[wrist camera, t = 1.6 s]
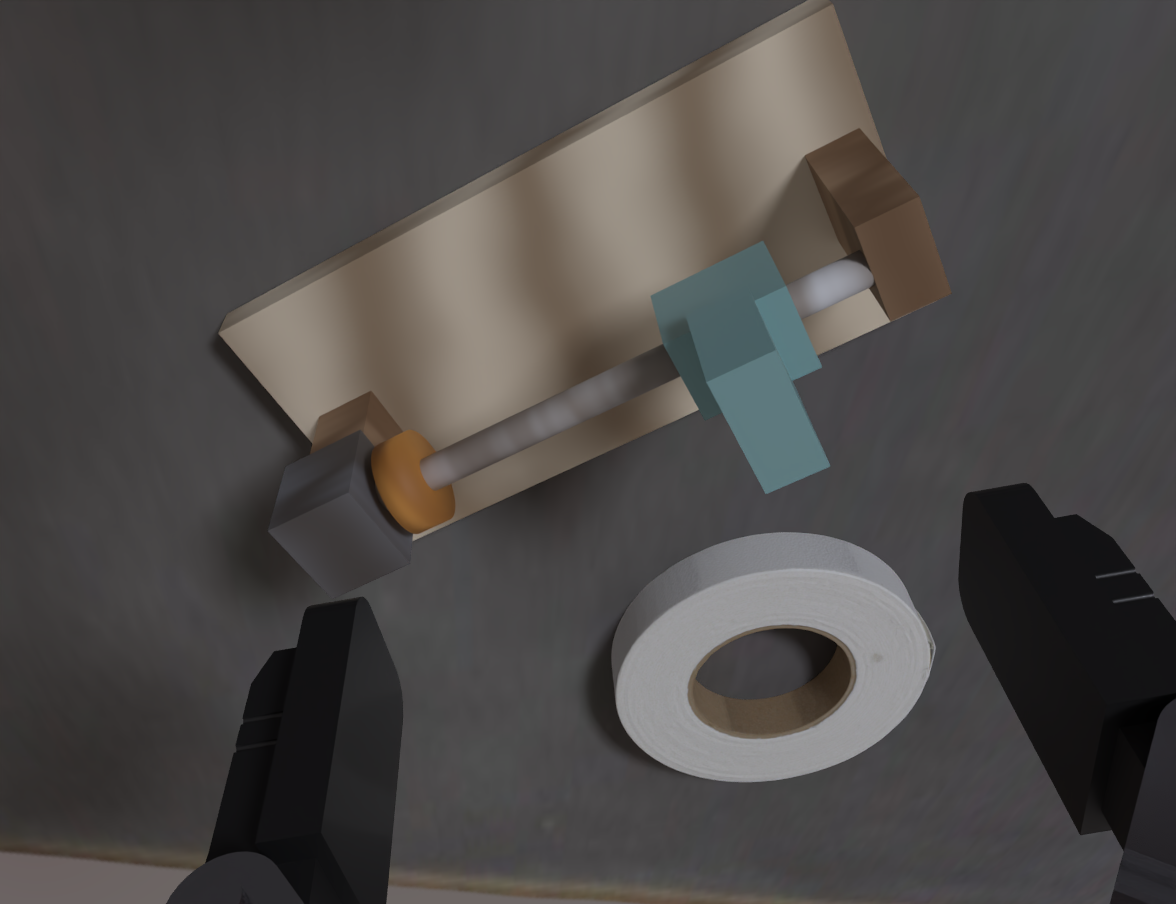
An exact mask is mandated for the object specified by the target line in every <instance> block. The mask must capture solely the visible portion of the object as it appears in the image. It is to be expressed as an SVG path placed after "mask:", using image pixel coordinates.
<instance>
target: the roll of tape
mask: <svg viewBox="0 0 1176 904" xmlns="http://www.w3.org/2000/svg"><path fill="white" fill-rule="evenodd" d="M777 628H796V629H803V630H809V631H812V632H815V633H818V634H821V635H823V636H825V637H827V638H829V639H831V640H833V641H834V642H835V643H836V644H837V648H836V651H835V654H834V656H833V657H832V659H831V661H830V662H829V664H828V665H827V666H826V667H825V669H824V670H823V671H822V672H821V673H820V674H819V675H817V676H816V677H815V678H814V679H812V680H811V681H810V682H808V683H807V684H805V685H803V686H802V687H800V688H798V689H796V690H794V691H791V692H789V693H786V694H783V695H779V696H775V697H771V698H765V699H756V700H741V699H733V698H729V697H724V696H721V695H718V694H716V693H713V692H711V691H709V690H707V689H706V688H704V687H703V686H702V685H701V684H700V683H699V682H697V681H696V680H695V678H696V675H697V672H698V670H699V669H700V668H701V666H702V665H703V664H704V662H705V661H706V660H707V659H708V658H709V657H710V655H712V654H713V653H714V652H715V651H717V650H718V649H719V648H721V647H722V646H724V645H726V644H728V643H729V642H731V641H733V640H735V639H738V638H740V637H742V636H745V635H748V634H751V633H754V632H758V631H763V630H769V629H777ZM934 654H935V644H934V641H933V638H932V636H931V633H930V631H929V629H928V627H927V626H926V624H925V622H924V621H923V619H922V617H921V616H920V614H919V613H918V611H917V610H915V608H914V605H913V603H912V601H911V599H910V597H909V594H908V592H907V590H906V588H905V586H904V584H903V583H902V581H901V580H900V578H899V577H898V576H897V574H896V573H895V572H894V571H893V570H892V569H891V568H890V567H889V566H888V565H887V564H885V563H884V562H883V561H882V560H881V559H879V558H878V557H876V556H875V555H873V554H872V553H870V552H868V551H866V550H865V549H863V548H861V547H858V546H856V545H854V544H851V543H849V542H846V541H843V540H839V539H836V538H832V537H828V536H823V535H816V534H808V533H794V532H780V533H767V534H759V535H752V536H746V537H742V538H737V539H733V540H730V541H726V542H723V543H720V544H717V545H714V546H712V547H709V548H707V549H705V550H702V551H700V552H698V553H695V554H693V555H691V556H689V557H687V558H685V559H683V560H682V561H680V562H678V563H676V564H675V565H673V566H672V567H670V568H669V569H667V570H666V571H664V572H663V573H662V574H660V575H659V576H658V577H656V578H655V579H654V580H652V581H651V582H650V583H649V584H648V585H647V586H646V587H645V588H644V589H643V590H642V591H641V592H640V593H639V594H638V595H637V596H636V598H635V599H634V600H633V601H632V602H631V604H630V605H629V607H628V608H627V610H626V611H625V613H624V615H623V617H622V618H621V620H620V622H619V625H618V627H617V630H616V632H615V636H614V639H613V644H612V652H611V664H612V673H613V683H614V692H615V701H616V708H617V712H618V715H619V718H620V721H621V723H622V725H623V727H624V729H625V730H626V732H627V733H628V735H629V736H630V737H631V738H632V740H633V741H634V742H635V743H636V744H637V745H638V746H639V747H640V748H641V749H642V750H643V751H644V752H645V753H647V754H648V755H649V756H651V757H652V758H654V759H655V760H657V761H659V762H661V763H662V764H664V765H666V766H668V767H670V768H673V769H675V770H677V771H680V772H683V773H686V774H690V775H693V776H697V777H702V778H707V779H713V780H720V781H729V782H761V781H771V780H780V779H785V778H791V777H795V776H800V775H804V774H808V773H812V772H815V771H819V770H822V769H825V768H828V767H831V766H833V765H836V764H838V763H841V762H843V761H845V760H847V759H850V758H852V757H853V756H855V755H857V754H859V753H861V752H863V751H864V750H866V749H867V748H869V747H871V746H872V745H874V744H875V743H877V742H878V741H879V740H881V739H882V738H883V737H884V736H885V735H887V734H888V733H889V732H890V731H891V730H892V729H893V728H894V727H896V726H897V725H898V724H899V723H900V722H901V721H902V720H903V719H904V718H905V717H906V716H907V714H908V713H909V712H910V710H911V709H912V707H913V706H914V704H915V703H916V701H917V700H918V698H919V697H920V695H921V693H922V690H923V688H924V686H925V683H926V681H927V679H928V677H929V674H930V670H931V666H932V662H933V658H934Z"/></svg>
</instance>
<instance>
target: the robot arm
mask: <svg viewBox="0 0 1176 904" xmlns="http://www.w3.org/2000/svg"><path fill="white" fill-rule="evenodd" d="M958 580H959V591H960V597H961V601H962V605H963V609H964V612H965V615H966V617H967V620H968V622H969V624H970V626H971V628H972V630H973V632H974V634H975V636H976V638H977V640H978V641H979V643H980V645H981V647H982V649H983V651H984V653H985V655H986V657H987V659H988V661H989V662H990V664H991V666H992V668H993V670H994V672H995V674H996V676H997V678H998V680H999V681H1000V683H1001V685H1002V687H1003V689H1004V691H1005V693H1006V695H1007V697H1008V699H1009V700H1010V702H1011V704H1012V706H1013V708H1014V710H1015V712H1016V714H1017V716H1018V718H1019V720H1020V721H1021V723H1022V725H1023V727H1024V729H1025V731H1026V733H1027V735H1028V737H1029V739H1030V740H1031V742H1032V744H1033V746H1034V748H1035V750H1036V752H1037V754H1038V756H1039V758H1040V760H1041V761H1042V763H1043V765H1044V767H1045V769H1046V771H1047V773H1048V775H1049V777H1050V779H1051V780H1052V782H1053V784H1054V786H1055V788H1056V790H1057V792H1058V794H1059V796H1060V798H1061V800H1062V801H1063V803H1064V805H1065V807H1066V809H1067V811H1068V813H1069V815H1070V817H1071V819H1072V820H1073V822H1074V824H1075V826H1076V828H1077V830H1078V832H1079V834H1080V835H1084V834H1090V833H1097V832H1103V831H1109V830H1112V831H1113V833H1114V835H1115V836H1116V838H1117V840H1118V842H1119V844H1120V845H1121V847H1122V849H1123V851H1124V853H1123V856H1122V860H1121V863H1120V867H1119V871H1118V875H1117V878H1116V882H1115V886H1114V890H1113V894H1112V898H1111V901H1110V904H1176V621H1175V620H1174V618H1173V617H1172V616H1171V614H1170V613H1169V612H1168V611H1167V609H1166V608H1165V607H1164V605H1163V604H1162V603H1161V601H1160V600H1159V599H1158V598H1155V597H1154V595H1153V591H1152V589H1151V588H1150V587H1149V585H1148V584H1147V583H1146V581H1145V580H1144V579H1143V577H1142V576H1141V575H1140V573H1139V574H1137V573H1136V572H1135V567H1134V565H1133V564H1132V563H1131V562H1130V560H1129V559H1128V558H1127V556H1126V555H1125V554H1124V552H1123V551H1122V550H1121V548H1120V547H1119V546H1118V544H1117V543H1116V542H1115V540H1114V539H1113V538H1112V537H1111V536H1109V535H1108V534H1106V533H1105V532H1103V531H1101V530H1100V529H1098V528H1097V527H1095V526H1094V525H1092V524H1091V523H1089V522H1088V521H1086V520H1085V519H1083V518H1081V517H1080V516H1078V515H1077V514H1075V515H1069V516H1064V517H1058V518H1054V517H1053V515H1052V514H1051V513H1050V511H1049V510H1048V508H1047V507H1046V506H1045V504H1044V503H1043V501H1042V500H1041V498H1040V497H1039V496H1038V494H1037V493H1036V491H1035V490H1034V489H1033V488H1032V487H1031V486H1030V485H1029V484H1027V483H1021V484H1015V485H1009V486H1003V487H998V488H992V489H986V490H981V491H975V492H969V493H967V494H966V496H965V498H964V502H963V514H962V529H961V545H960V560H959V577H958ZM402 725H403V699H402V691H401V686H400V681H399V677H398V674H397V671H396V668H395V666H394V663H393V661H392V658H391V656H390V653H389V651H388V649H387V646H386V644H385V641H384V639H383V636H382V634H381V631H380V629H379V626H378V624H377V621H376V619H375V616H374V614H373V612H372V609H371V607H370V605H369V603H368V601H367V600H366V599H365V598H364V597H358V598H352V599H346V600H341V601H335V602H329V603H323V604H318V605H312V606H309V607H307V609H306V610H305V612H304V616H303V620H302V625H301V629H300V634H299V639H298V644H297V648H291V649H285V650H279V651H274V652H273V654H272V655H271V656H270V658H269V659H268V661H267V662H266V664H265V665H264V666H263V668H262V669H261V671H260V672H259V674H258V675H257V676H256V678H255V679H254V681H253V682H252V684H251V687H250V691H249V695H248V699H247V703H246V706H245V710H244V714H243V724H242V725H241V726H240V730H239V734H238V738H237V742H236V749H237V751H236V752H235V753H234V754H233V758H232V762H231V766H230V770H229V774H228V778H227V782H226V786H225V790H224V794H223V798H222V802H221V806H220V810H219V814H218V818H217V822H216V826H215V830H214V834H213V838H212V842H211V846H210V849H209V853H208V856H207V859H206V862H205V864H203V865H202V866H200V867H199V868H197V869H196V870H195V871H193V872H192V873H191V874H190V875H189V876H187V877H186V878H185V879H184V880H183V882H181V884H180V885H179V886H178V887H177V888H176V889H175V891H174V892H173V893H172V895H171V896H170V898H169V900H168V902H167V903H166V904H386V900H387V889H388V878H389V867H390V856H391V845H392V834H393V823H394V812H395V801H396V790H397V779H398V769H399V758H400V747H401V736H402Z"/></svg>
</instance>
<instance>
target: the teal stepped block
mask: <svg viewBox="0 0 1176 904" xmlns="http://www.w3.org/2000/svg"><path fill="white" fill-rule="evenodd" d="M651 300H652V304H653V308H654V312H655V315H656V319H657V323H658V327H659V330H660V334H661V338H662V342H663V345H664V347H665V349H666V351H667V352H668V354H669V356H670V358H671V360H672V361H673V363H674V365H675V367H676V369H677V371H678V372H679V374H680V376H681V378H682V380H683V382H684V383H685V385H686V387H687V389H688V391H689V392H690V394H691V396H692V398H693V400H694V402H695V403H696V405H697V407H698V409H699V411H700V413H701V414H702V416H703V418H704V420H707V419H709V418H712V417H714V416H716V415H718V414H720V413H723V414H724V416H725V418H726V420H727V422H728V424H729V426H730V428H731V429H732V431H733V433H734V435H735V437H736V439H737V441H738V443H739V445H740V446H741V448H742V450H743V452H744V454H745V456H746V458H747V460H748V461H749V463H750V465H751V467H752V469H753V471H754V473H755V475H756V476H757V478H758V480H759V482H760V484H761V486H762V488H763V490H764V492H765V493H766V494H767V493H770V492H772V491H774V490H777V489H779V488H781V487H784V486H786V485H788V484H791V483H793V482H795V481H798V480H800V479H802V478H804V477H807V476H809V475H811V474H814V473H816V472H818V471H821V470H823V469H825V468H828V467H830V464H829V462H828V460H827V457H826V455H825V453H824V450H823V448H822V446H821V444H820V441H819V439H818V437H817V435H816V432H815V430H814V428H813V426H812V423H811V421H810V419H809V417H808V414H807V412H806V410H805V408H804V405H803V403H802V401H801V399H800V396H799V394H798V392H797V390H796V388H795V386H794V383H793V380H795V379H797V378H799V377H802V376H804V375H806V374H808V373H810V372H813V371H815V370H817V369H819V368H821V367H822V366H821V363H820V361H819V359H818V357H817V354H816V352H815V350H814V348H813V345H812V343H811V341H810V339H809V336H808V334H807V332H806V330H805V327H804V325H803V323H802V321H801V318H800V316H799V314H798V312H797V309H796V307H795V305H794V303H793V300H792V298H791V296H790V294H789V291H788V289H787V287H786V285H785V283H784V281H783V279H782V277H781V275H780V273H779V271H778V269H777V267H776V265H775V263H774V261H773V259H772V257H771V255H770V253H769V251H768V249H767V247H766V245H765V243H764V241H761V242H759V243H757V244H755V245H753V246H751V247H749V248H747V249H745V250H743V251H741V252H739V253H737V254H735V255H733V256H730V257H728V258H726V259H724V260H722V261H720V262H718V263H716V264H714V265H712V266H710V267H708V268H706V269H704V270H702V271H700V272H698V273H696V274H694V275H692V276H690V277H688V278H686V279H684V280H682V281H680V282H677V283H675V284H673V285H671V286H669V287H667V288H665V289H663V290H661V291H659V292H657V293H655V294H653V295H651Z"/></svg>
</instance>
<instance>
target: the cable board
mask: <svg viewBox="0 0 1176 904" xmlns="http://www.w3.org/2000/svg"><path fill="white" fill-rule="evenodd" d="M761 241H764V243H765V245H766V247H767V249H768V251H769V253H770V255H771V257H772V259H773V261H774V263H775V265H776V267H777V269H778V271H779V273H780V275H781V277H782V279H783V281H784V283H785V285H786V287H787V289H788V291H789V294H790V296H791V298H792V300H793V303H794V305H795V307H796V309H797V312H798V314H799V316H800V318H801V321H802V323H803V325H804V327H805V330H806V332H807V334H808V336H809V339H810V341H811V343H812V345H813V348H814V350H815V352H816V354H817V355H819V354H821V353H824V352H826V351H828V350H830V349H832V348H835V347H837V346H839V345H841V344H843V343H845V342H848V341H850V340H852V339H854V338H856V337H859V336H861V335H863V334H865V333H867V332H869V331H872V330H874V329H876V328H878V327H880V326H883V325H885V324H887V323H889V322H891V321H893V320H896V319H898V318H900V317H902V316H904V315H907V314H909V313H911V312H913V311H915V310H917V309H920V308H922V307H924V306H926V305H928V304H930V303H933V302H935V301H936V300H939V299H941V298H943V297H945V296H947V295H950V294H952V293H951V290H950V287H949V284H948V281H947V278H946V275H945V272H944V269H943V266H942V263H941V260H940V257H939V254H938V251H937V248H936V245H935V242H934V239H933V236H932V233H931V230H930V227H929V224H928V221H927V218H926V215H925V212H924V209H923V206H922V203H921V200H920V197H919V195H918V194H917V193H916V192H915V191H914V190H913V189H912V187H911V186H910V185H909V184H908V183H907V182H906V181H905V179H904V178H903V177H902V176H901V175H900V174H899V173H898V171H897V170H896V169H895V168H894V167H893V166H892V165H891V163H890V162H889V161H888V160H887V159H886V156H885V153H884V150H883V147H882V145H881V142H880V139H879V136H878V133H877V130H876V127H875V124H874V121H873V119H872V116H871V113H870V110H869V107H868V104H867V101H866V98H865V95H864V93H863V90H862V87H861V84H860V81H859V78H858V75H857V72H856V69H855V67H854V64H853V61H852V58H851V55H850V52H849V49H848V46H847V43H846V41H845V38H844V35H843V32H842V29H841V26H840V23H839V20H838V17H837V15H836V12H835V9H834V6H833V4H832V3H831V2H830V1H829V0H808V1H806V2H804V3H802V4H800V5H798V6H796V7H795V8H793V9H791V10H789V11H787V12H785V13H783V14H782V15H780V16H778V17H776V18H774V19H772V20H771V21H769V22H767V23H765V24H763V25H761V26H759V27H758V28H756V29H754V30H752V31H750V32H748V33H746V34H745V35H743V36H741V37H739V38H737V39H735V40H733V41H732V42H730V43H728V44H726V45H724V46H722V47H720V48H719V49H717V50H715V51H713V52H711V53H709V54H708V55H706V56H704V57H702V58H700V59H698V60H696V61H695V62H693V63H691V64H689V65H687V66H685V67H683V68H682V69H680V70H678V71H676V72H674V73H672V74H670V75H669V76H667V77H665V78H663V79H661V80H659V81H657V82H656V83H654V84H652V85H650V86H648V87H646V88H645V89H643V90H641V91H639V92H637V93H635V94H633V95H632V96H630V97H628V98H626V99H624V100H622V101H620V102H619V103H617V104H615V105H613V106H611V107H609V108H607V109H606V110H604V111H602V112H600V113H598V114H596V115H594V116H593V117H591V118H589V119H587V120H585V121H583V122H582V123H580V124H578V125H576V126H574V127H572V128H570V129H569V130H567V131H565V132H563V133H561V134H559V135H557V136H556V137H554V138H552V139H550V140H548V141H546V142H544V143H543V144H541V145H539V146H537V147H535V148H533V149H531V150H530V151H528V152H526V153H524V154H522V155H520V156H519V157H517V158H515V159H513V160H511V161H509V162H507V163H506V164H504V165H502V166H500V167H498V168H496V169H494V170H493V171H491V172H489V173H487V174H485V175H483V176H481V177H480V178H478V179H476V180H474V181H472V182H470V183H468V184H467V185H465V186H463V187H461V188H459V189H457V190H456V191H454V192H452V193H450V194H448V195H446V196H444V197H443V198H441V199H439V200H437V201H435V202H433V203H431V204H430V205H428V206H426V207H424V208H422V209H420V210H418V211H417V212H415V213H413V214H411V215H409V216H407V217H405V218H404V219H402V220H400V221H398V222H396V223H394V224H393V225H391V226H389V227H387V228H385V229H383V230H381V231H380V232H378V233H376V234H374V235H372V236H370V237H368V238H367V239H365V240H363V241H361V242H359V243H357V244H355V245H354V246H352V247H350V248H348V249H346V250H344V251H342V252H341V253H339V254H337V255H335V256H333V257H331V258H330V259H328V260H326V261H324V262H322V263H320V264H318V265H317V266H315V267H313V268H311V269H309V270H307V271H305V272H304V273H302V274H300V275H298V276H296V277H294V278H292V279H291V280H289V281H287V282H285V283H283V284H281V285H279V286H278V287H276V288H274V289H272V290H270V291H268V292H267V293H265V294H263V295H261V296H259V297H257V298H255V299H254V300H252V301H250V302H248V303H246V304H244V305H242V306H241V307H239V308H237V309H235V310H233V311H231V312H229V313H228V314H227V315H226V317H225V319H224V322H223V324H222V326H221V328H220V330H219V333H218V334H219V335H220V336H221V337H222V338H223V339H224V341H225V342H226V343H227V344H228V345H229V346H230V348H231V349H232V350H233V351H234V352H235V354H236V355H237V356H238V357H239V358H240V359H241V361H242V362H243V363H244V364H245V365H246V366H247V368H248V369H249V370H250V371H251V372H252V373H253V375H254V376H255V377H256V378H257V379H258V380H259V382H260V383H261V384H262V385H263V386H264V387H265V389H266V390H267V391H268V392H269V393H270V394H271V396H272V397H273V398H274V399H275V400H276V402H277V403H278V404H279V405H280V406H281V407H282V409H283V410H284V411H285V412H286V413H287V414H288V416H289V417H290V418H291V419H292V420H293V421H294V423H295V424H296V425H297V426H298V427H299V428H300V430H301V431H302V432H303V433H304V434H305V435H306V437H307V438H308V439H309V440H310V441H311V443H312V448H311V452H310V455H308V456H305V457H303V458H301V459H299V460H297V461H295V462H293V463H291V464H289V465H287V466H286V467H285V470H284V474H283V478H282V481H281V485H280V488H279V492H278V495H277V499H276V503H275V506H274V510H273V513H272V517H271V520H270V524H269V528H268V532H269V533H270V534H271V535H272V536H273V537H274V538H275V540H276V541H277V542H278V543H279V544H280V545H281V546H282V547H283V548H284V549H285V550H286V551H287V552H288V553H289V554H290V555H291V556H292V557H293V558H294V560H295V561H296V562H297V563H298V564H299V565H300V566H301V567H302V568H303V569H304V570H305V571H306V572H307V573H308V574H309V575H310V576H311V577H312V578H313V579H314V581H315V582H316V583H317V584H318V585H319V586H320V587H321V588H322V589H323V590H324V591H325V592H326V593H327V594H328V595H329V596H330V597H331V598H332V599H334V598H336V597H338V596H340V595H342V594H345V593H347V592H349V591H351V590H353V589H356V588H358V587H360V586H362V585H365V584H367V583H369V582H371V581H373V580H376V579H378V578H380V577H382V576H384V575H387V574H389V573H391V572H393V571H395V570H398V569H400V568H402V567H404V566H406V565H409V564H410V559H411V550H412V541H414V540H416V539H418V538H420V537H423V536H425V535H427V534H429V533H431V532H433V531H436V530H438V529H440V528H442V527H444V526H447V525H449V524H451V523H453V522H455V521H457V520H460V519H462V518H464V517H466V516H468V515H471V514H473V513H475V512H477V511H479V510H481V509H484V508H486V507H488V506H490V505H492V504H495V503H497V502H499V501H501V500H503V499H505V498H508V497H510V496H512V495H514V494H516V493H518V492H521V491H523V490H525V489H527V488H529V487H532V486H534V485H536V484H538V483H540V482H542V481H545V480H547V479H549V478H551V477H553V476H556V475H558V474H560V473H562V472H564V471H566V470H569V469H571V468H573V467H575V466H577V465H580V464H582V463H584V462H586V461H588V460H590V459H593V458H595V457H597V456H599V455H601V454H604V453H606V452H608V451H610V450H612V449H614V448H617V447H619V446H621V445H623V444H625V443H627V442H630V441H632V440H634V439H636V438H638V437H641V436H643V435H645V434H647V433H649V432H651V431H654V430H656V429H658V428H660V427H662V426H665V425H667V424H669V423H671V422H673V421H675V420H678V419H680V418H682V417H684V416H686V415H689V414H691V413H693V412H695V411H697V410H699V409H698V407H697V405H696V403H695V402H694V400H693V398H692V396H691V394H690V392H689V391H688V389H687V387H686V385H685V383H684V382H683V380H682V378H681V376H680V374H679V372H678V371H677V369H676V367H675V365H674V363H673V361H672V360H671V358H670V356H669V354H668V352H667V351H666V349H665V347H664V345H663V342H662V338H661V334H660V330H659V327H658V323H657V319H656V315H655V312H654V308H653V304H652V300H651V295H653V294H655V293H657V292H659V291H661V290H663V289H665V288H667V287H669V286H671V285H673V284H675V283H677V282H680V281H682V280H684V279H686V278H688V277H690V276H692V275H694V274H696V273H698V272H700V271H702V270H704V269H706V268H708V267H710V266H712V265H714V264H716V263H718V262H720V261H722V260H724V259H726V258H728V257H730V256H733V255H735V254H737V253H739V252H741V251H743V250H745V249H747V248H749V247H751V246H753V245H755V244H757V243H759V242H761Z"/></svg>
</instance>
